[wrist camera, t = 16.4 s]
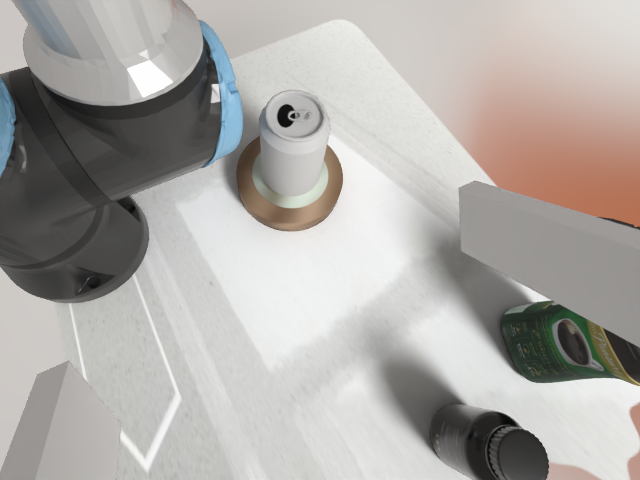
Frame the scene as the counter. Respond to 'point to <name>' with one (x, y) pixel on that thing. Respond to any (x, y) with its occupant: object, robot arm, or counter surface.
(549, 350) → the coffee jar
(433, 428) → the supplement bottle
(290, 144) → the can
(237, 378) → the counter surface
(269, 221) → the pedestal
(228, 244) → the counter surface
